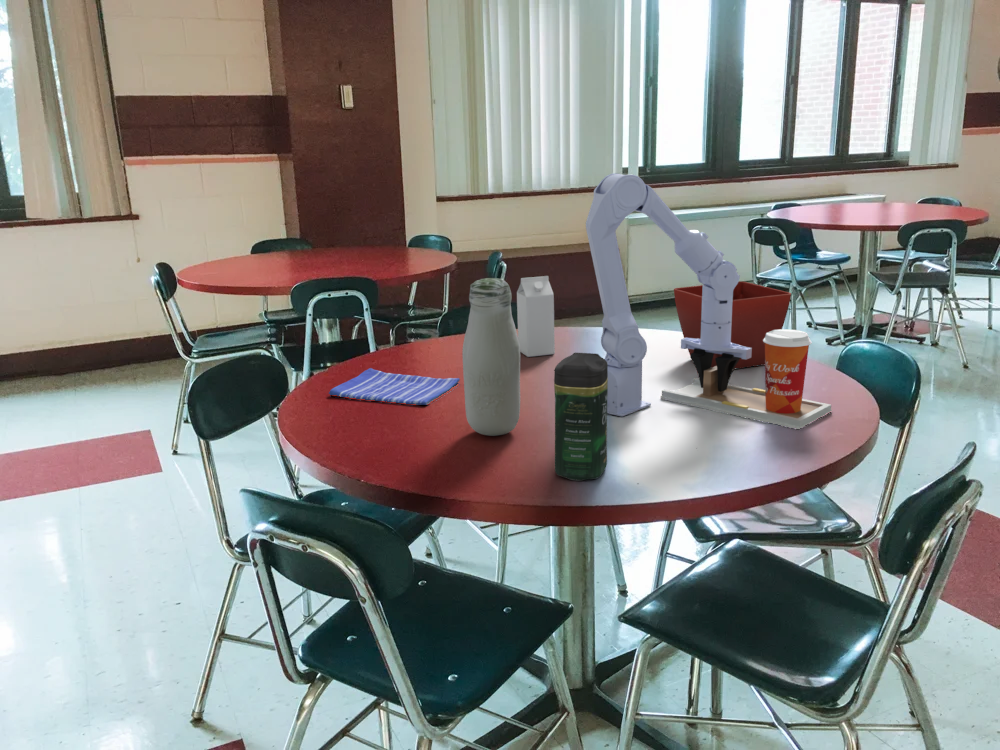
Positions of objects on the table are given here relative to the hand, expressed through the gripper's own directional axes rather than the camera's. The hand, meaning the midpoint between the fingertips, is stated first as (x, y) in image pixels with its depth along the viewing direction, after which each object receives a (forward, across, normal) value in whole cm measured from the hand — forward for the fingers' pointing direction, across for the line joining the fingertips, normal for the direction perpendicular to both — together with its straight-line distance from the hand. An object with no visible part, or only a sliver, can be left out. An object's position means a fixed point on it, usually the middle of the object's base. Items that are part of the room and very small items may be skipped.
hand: (713, 388), depth 160 cm
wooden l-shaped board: (+2, -9, 0) cm, 9 cm away
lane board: (+2, -6, 0) cm, 7 cm away
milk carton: (+2, +54, -6) cm, 54 cm away
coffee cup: (+2, -15, 0) cm, 15 cm away
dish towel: (+3, +54, +38) cm, 66 cm away
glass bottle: (+2, +18, +42) cm, 46 cm away
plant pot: (+2, +12, -26) cm, 29 cm away
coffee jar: (+2, -4, +46) cm, 46 cm away
